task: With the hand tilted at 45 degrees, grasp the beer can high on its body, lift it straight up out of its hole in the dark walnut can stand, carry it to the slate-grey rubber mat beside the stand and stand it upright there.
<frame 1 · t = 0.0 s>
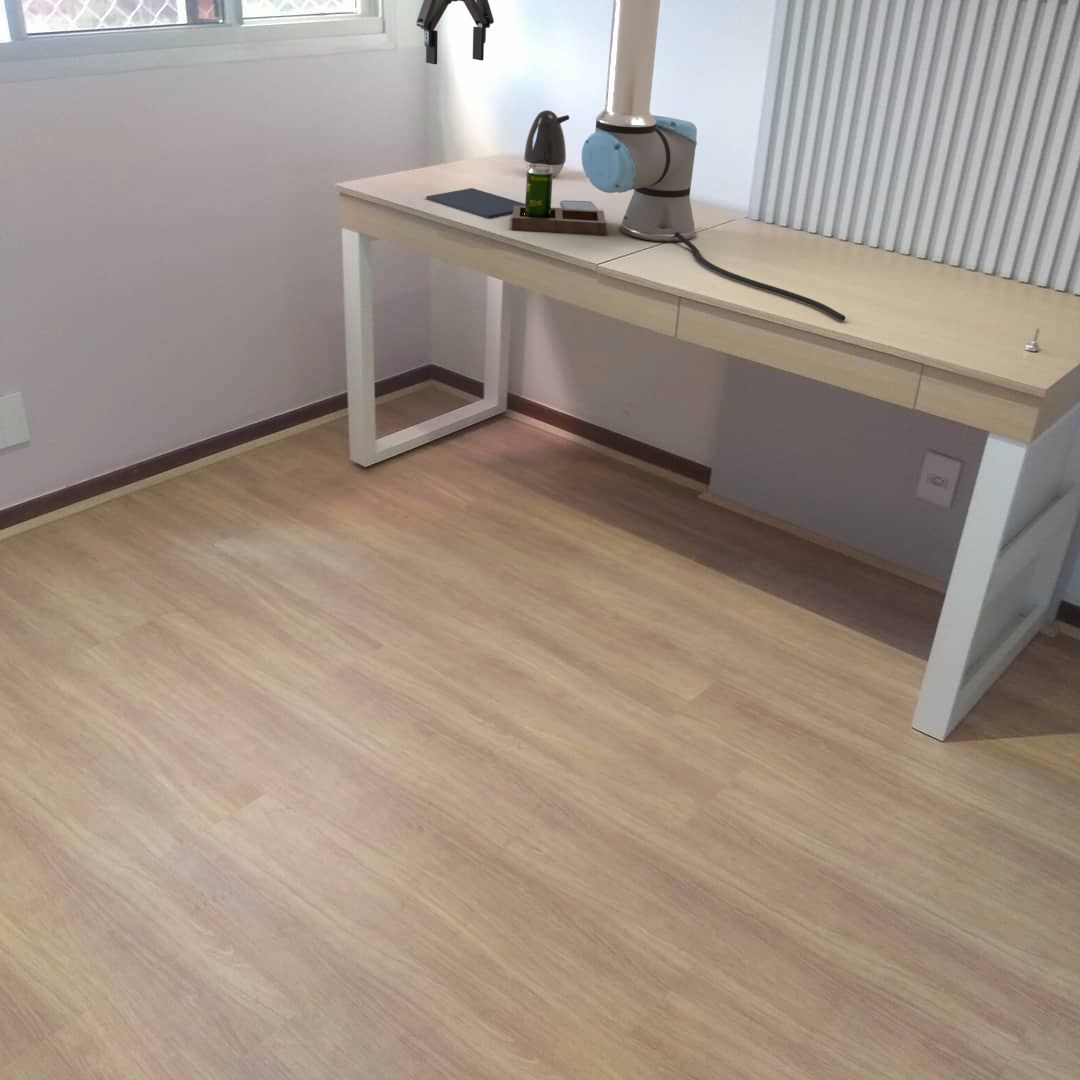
hand: (455, 61, 251), 28 cm above the table, tool pointing down, fingers open, 13 cm apart
beer can: (537, 225, 245), resting in can stand
can stand: (558, 225, 245), on the table
pump dispenser: (544, 176, 285), on the table
slate mat: (479, 203, 257), on the table
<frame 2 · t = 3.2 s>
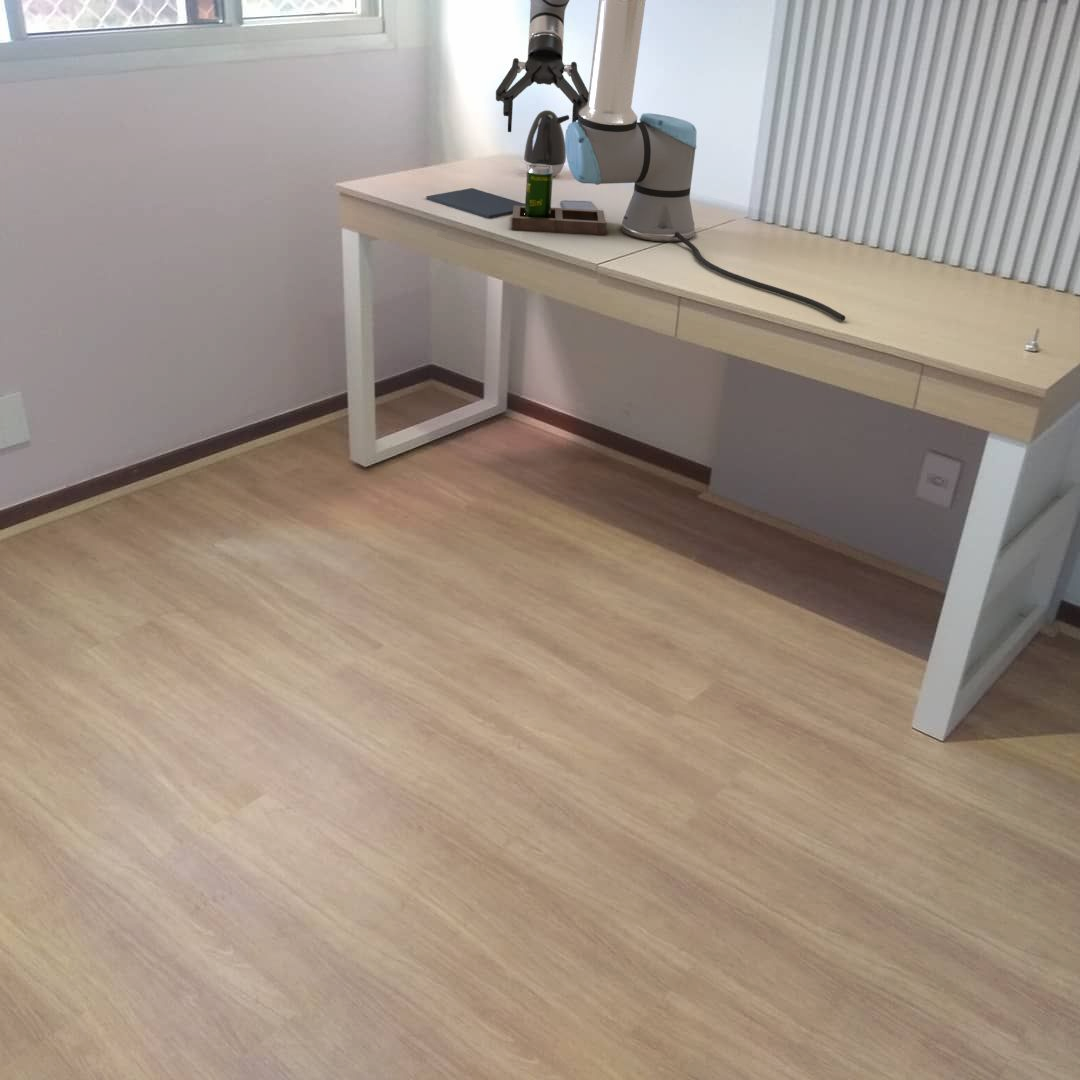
hand: (541, 130, 245), 17 cm above the table, tool tilted 45°, fingers open, 13 cm apart
nothing on the table moved.
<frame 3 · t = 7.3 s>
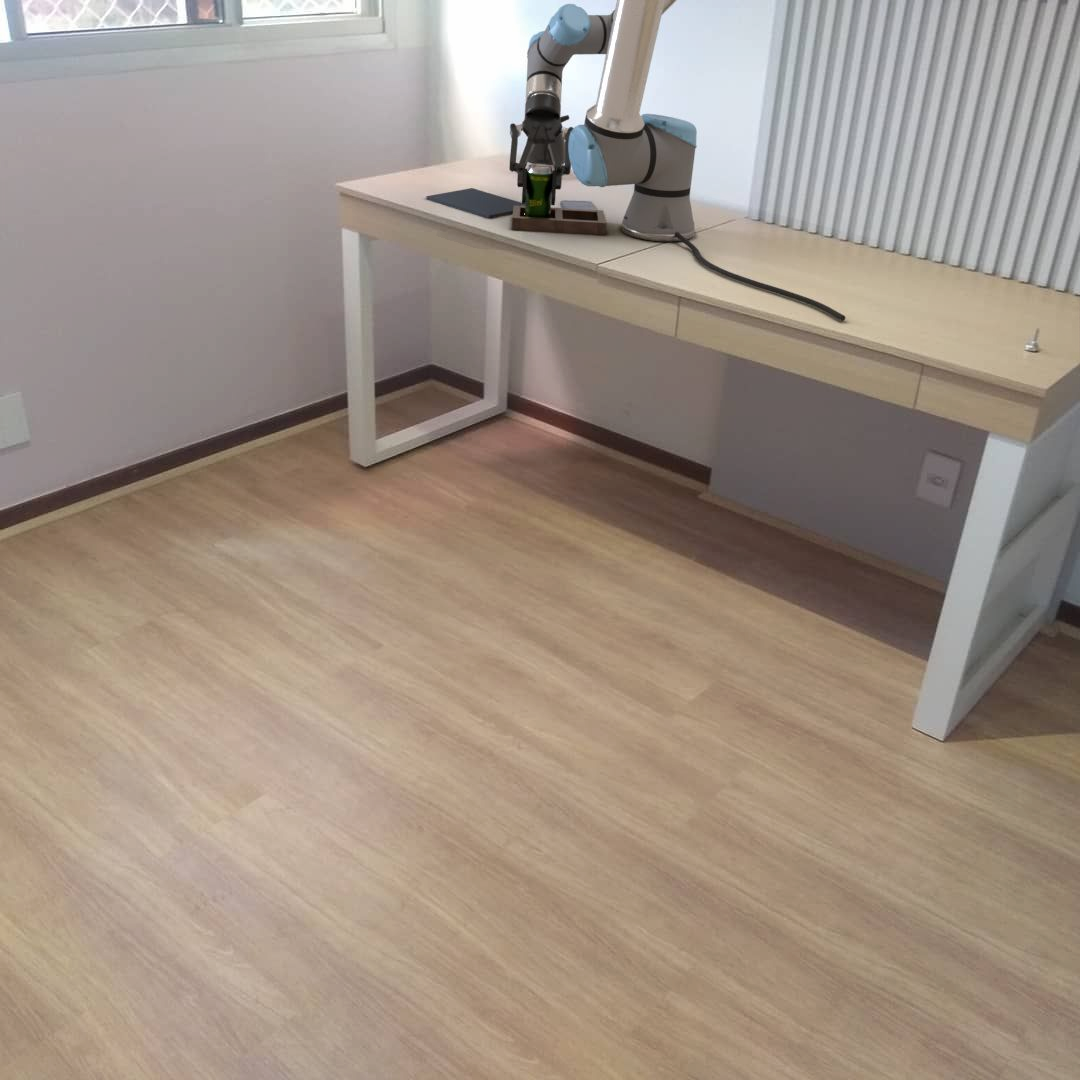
hand: (538, 200, 239), 6 cm above the table, tool tilted 45°, fingers closed on beer can, 5 cm apart
beer can: (537, 225, 245), resting in can stand, touching gripper
everything else where it was.
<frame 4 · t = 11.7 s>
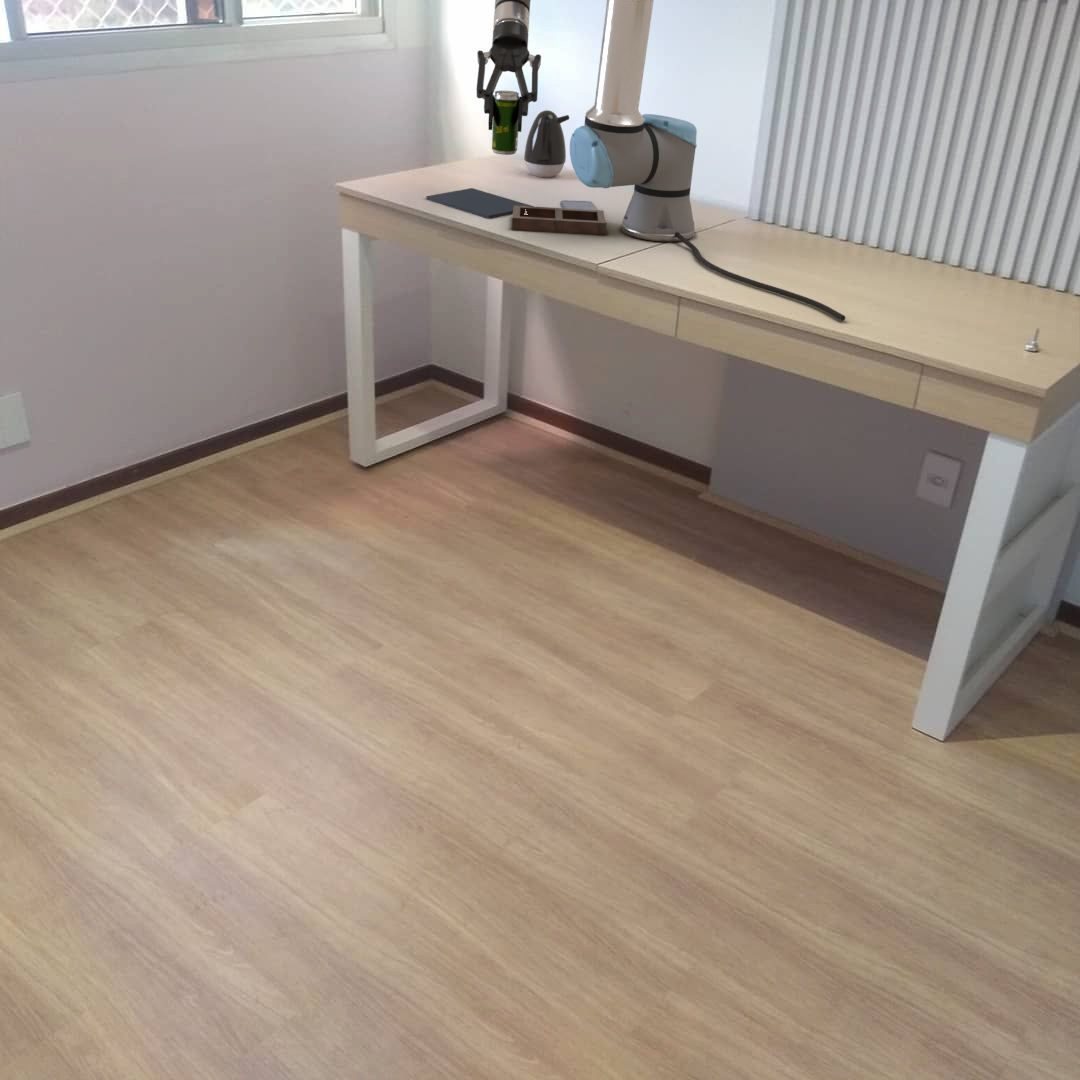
hand: (505, 126, 240), 18 cm above the table, tool tilted 45°, fingers closed on beer can, 5 cm apart
beer can: (504, 153, 246), point 12 cm above the table, touching gripper
everything else where it was.
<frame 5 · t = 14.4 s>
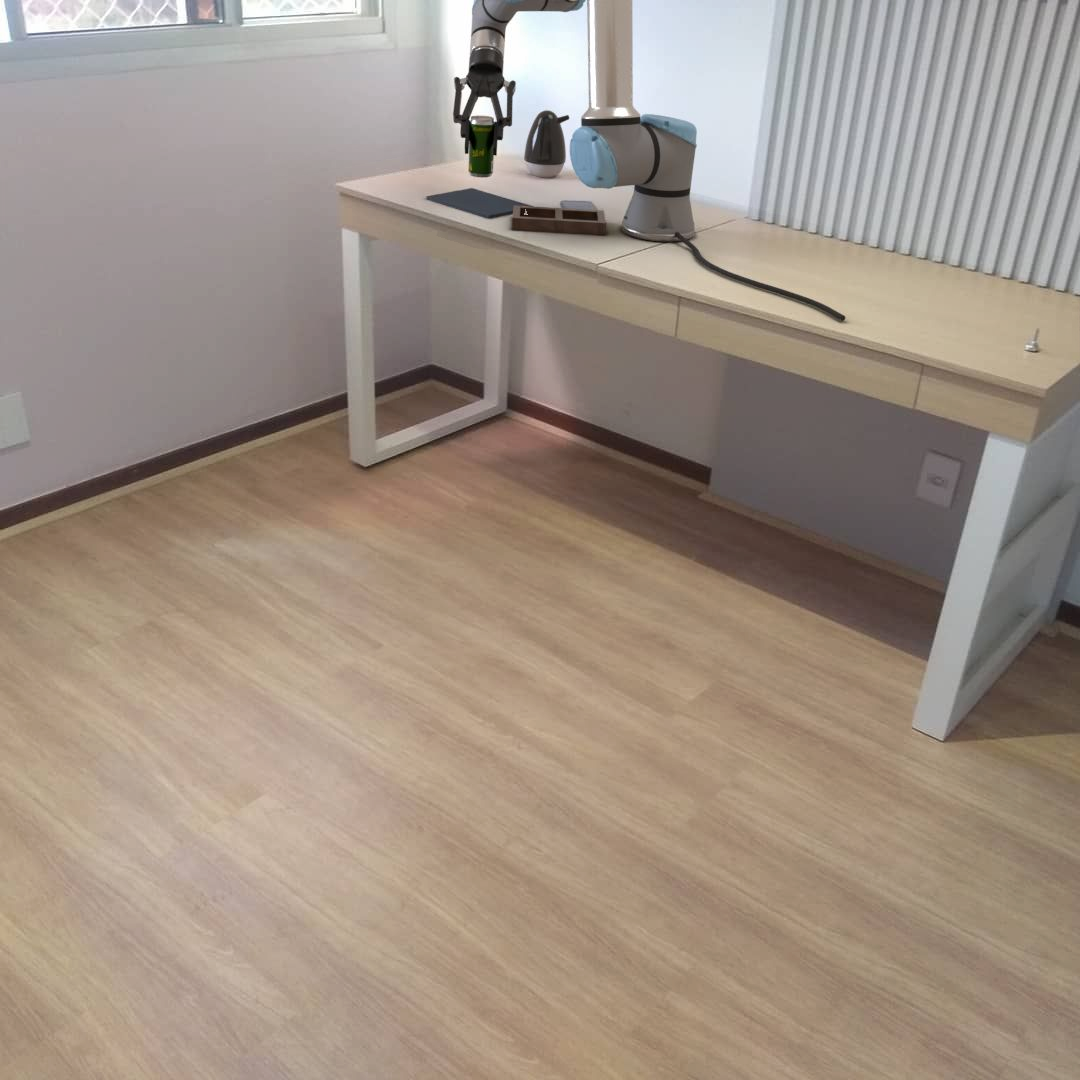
hand: (480, 150, 248), 12 cm above the table, tool tilted 45°, fingers closed on beer can, 5 cm apart
beer can: (480, 175, 254), point 6 cm above the table, touching gripper
everything else where it was.
when the fingers open (6 cm above the table, at t = 16.3 s): beer can stays where it is, resting on slate mat.
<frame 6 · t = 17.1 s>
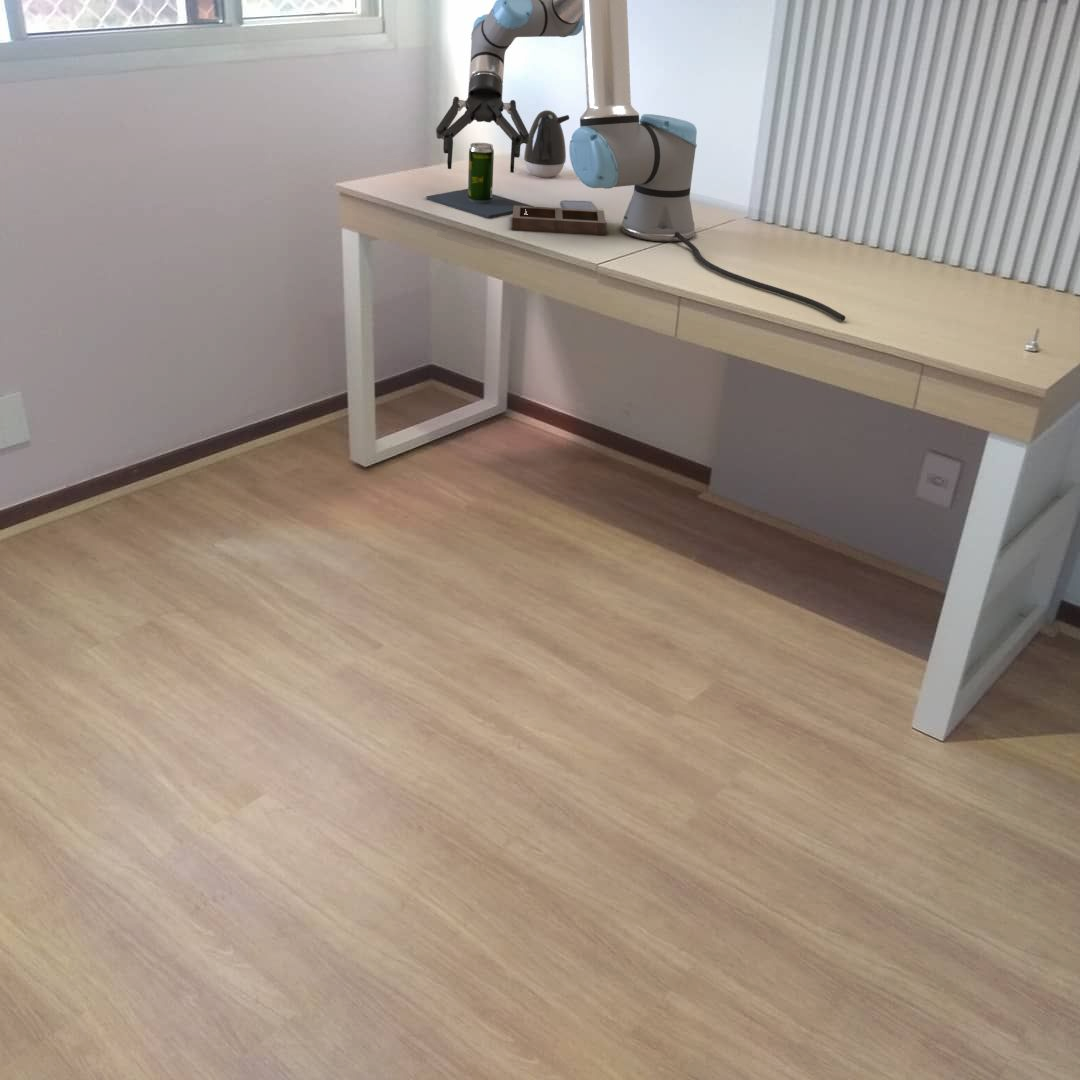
hand: (480, 167, 251), 8 cm above the table, tool tilted 45°, fingers open, 13 cm apart
beer can: (479, 201, 257), resting on slate mat
everything else where it was.
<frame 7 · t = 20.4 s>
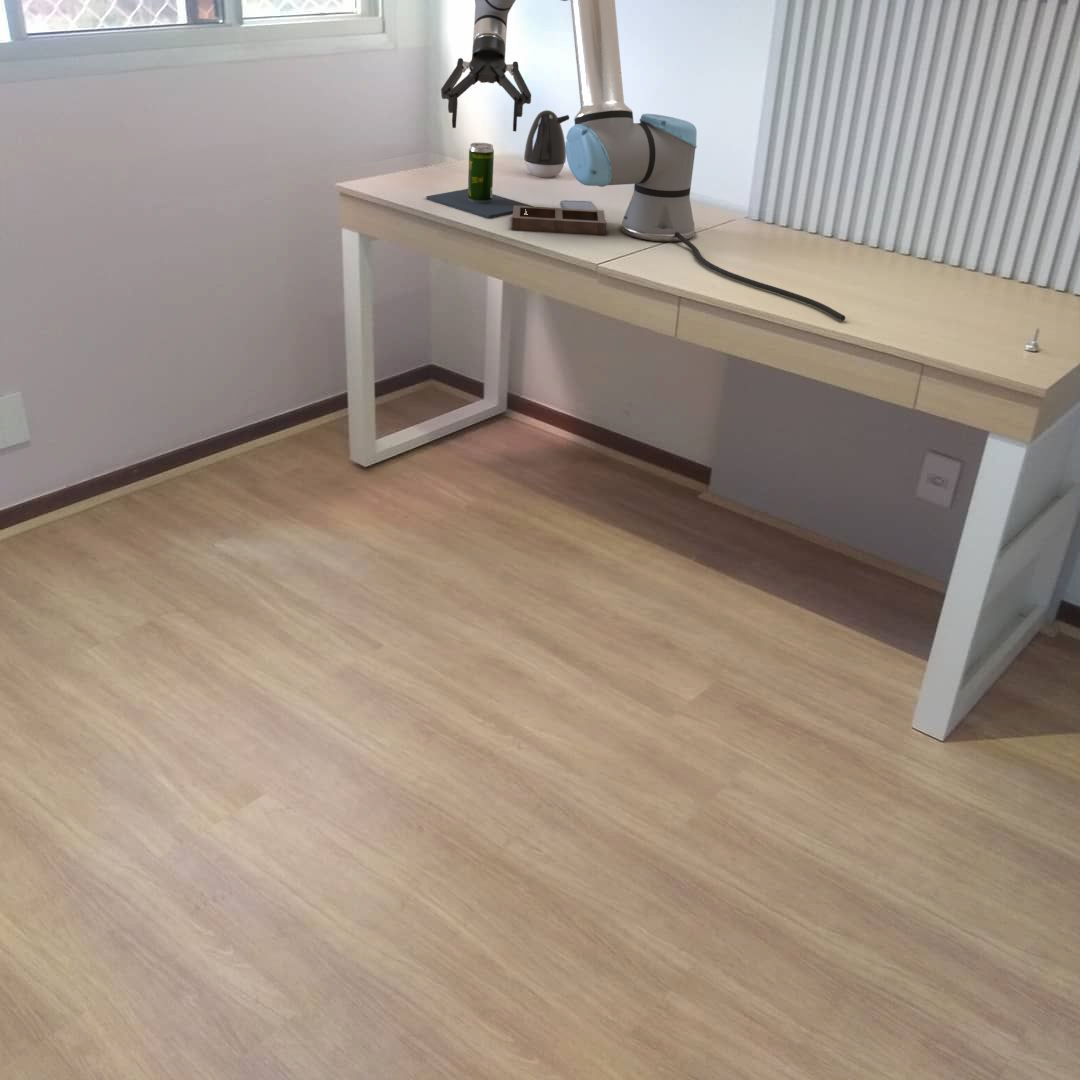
hand: (484, 126, 259), 15 cm above the table, tool tilted 45°, fingers open, 13 cm apart
nothing on the table moved.
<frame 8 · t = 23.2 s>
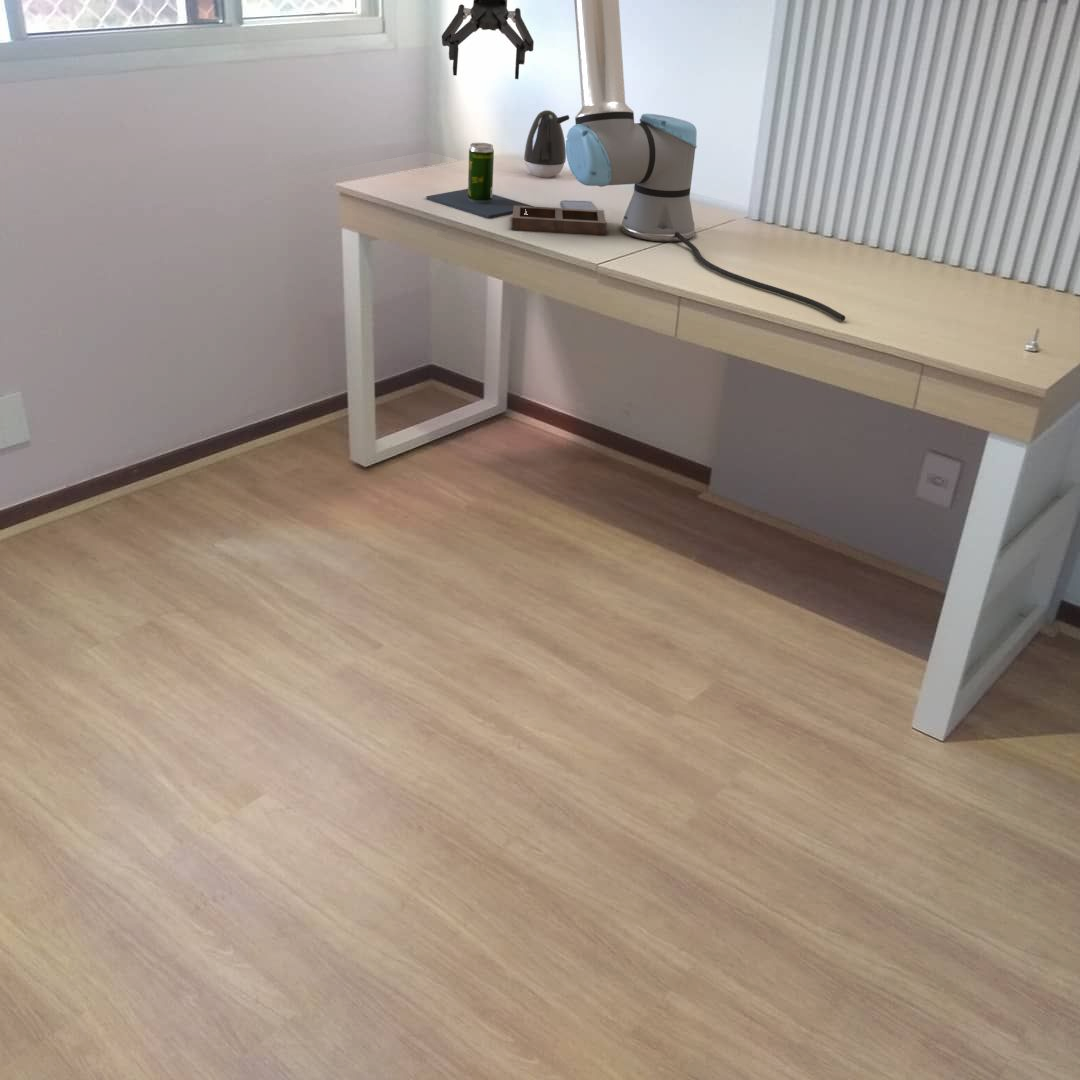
hand: (485, 73, 254), 26 cm above the table, tool tilted 45°, fingers open, 13 cm apart
nothing on the table moved.
at the end: beer can touching slate mat; beer can inside the target area on the slate mat (0.1 cm from its centre), point 0.4 cm above the slate mat's base; beer can tilted 0° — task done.
